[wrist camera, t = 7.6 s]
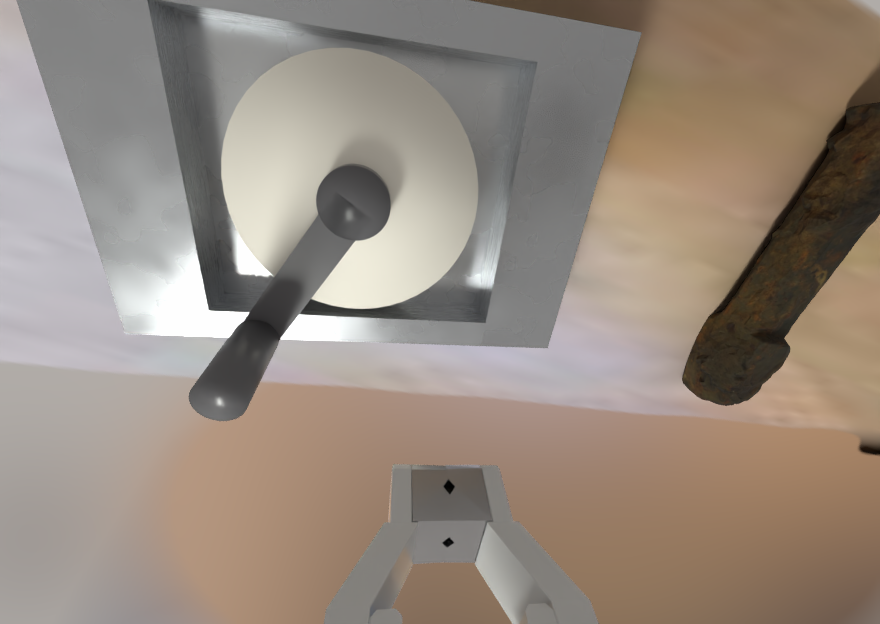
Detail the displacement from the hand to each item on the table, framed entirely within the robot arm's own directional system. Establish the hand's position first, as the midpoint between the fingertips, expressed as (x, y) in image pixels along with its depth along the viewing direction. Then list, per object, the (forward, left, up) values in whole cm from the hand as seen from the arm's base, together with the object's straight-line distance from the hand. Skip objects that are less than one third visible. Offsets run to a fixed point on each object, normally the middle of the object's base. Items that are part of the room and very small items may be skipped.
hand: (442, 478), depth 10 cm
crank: (+4, -4, -12) cm, 13 cm away
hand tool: (-23, -3, -14) cm, 27 cm away
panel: (+3, -5, -13) cm, 15 cm away
